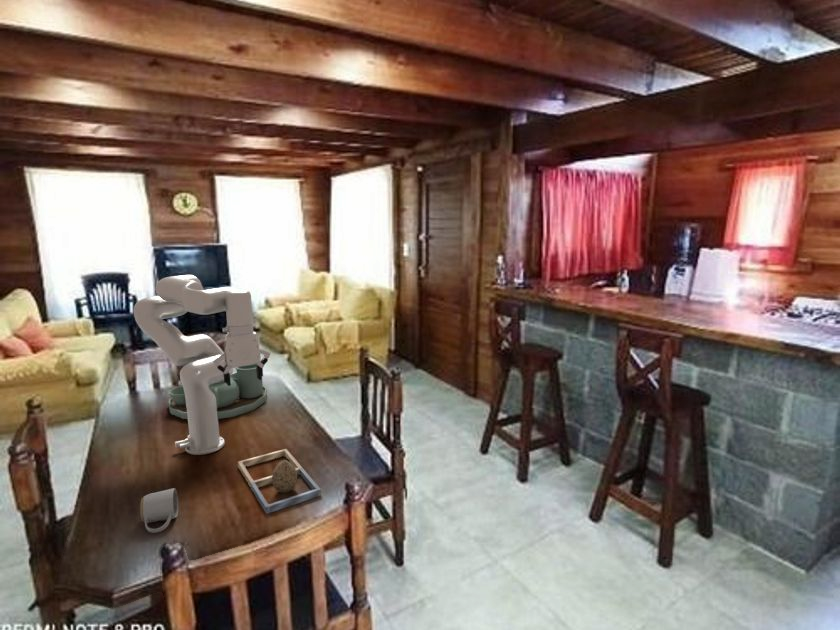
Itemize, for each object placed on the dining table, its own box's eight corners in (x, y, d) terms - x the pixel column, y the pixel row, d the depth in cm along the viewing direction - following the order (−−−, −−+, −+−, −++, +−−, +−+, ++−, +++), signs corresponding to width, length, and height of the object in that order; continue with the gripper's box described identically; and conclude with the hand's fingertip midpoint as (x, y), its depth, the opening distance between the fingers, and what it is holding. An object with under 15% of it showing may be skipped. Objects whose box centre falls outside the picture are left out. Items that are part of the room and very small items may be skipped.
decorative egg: (283, 482, 147) (281, 452, 145) (302, 487, 144) (301, 457, 142) (267, 494, 141) (265, 463, 139) (287, 500, 138) (286, 468, 136)
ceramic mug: (146, 513, 132) (143, 488, 130) (179, 507, 134) (176, 482, 133) (139, 537, 122) (135, 511, 120) (174, 530, 125) (171, 504, 123)
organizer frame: (266, 514, 132) (265, 507, 131) (238, 467, 156) (237, 461, 155) (321, 495, 140) (320, 489, 140) (286, 454, 165) (286, 448, 164)
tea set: (244, 381, 237) (241, 349, 234) (282, 404, 209) (280, 368, 205) (156, 402, 211) (151, 366, 207) (186, 431, 182) (182, 390, 179)
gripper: (213, 335, 142) (218, 390, 145) (271, 328, 151) (274, 380, 155) (208, 330, 148) (212, 383, 151) (264, 324, 157) (267, 373, 161)
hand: (244, 381), depth 153 cm, fingers open, 9 cm apart
